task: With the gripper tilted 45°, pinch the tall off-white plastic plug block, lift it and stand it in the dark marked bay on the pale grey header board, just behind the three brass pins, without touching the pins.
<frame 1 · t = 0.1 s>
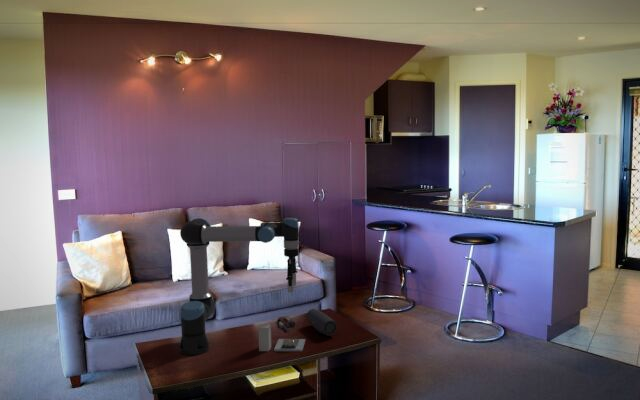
hand: (292, 288, 271), 28 cm above the table, tool pointing down, fingers open, 13 cm apart
plug block: (265, 348, 264), on the table
header board: (290, 345, 267), on the table
bluetooth speaker: (321, 331, 288), on the table
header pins: (288, 344, 262), on the header board, point 3 cm above the table
walkie-talkie: (287, 326, 298), on the table
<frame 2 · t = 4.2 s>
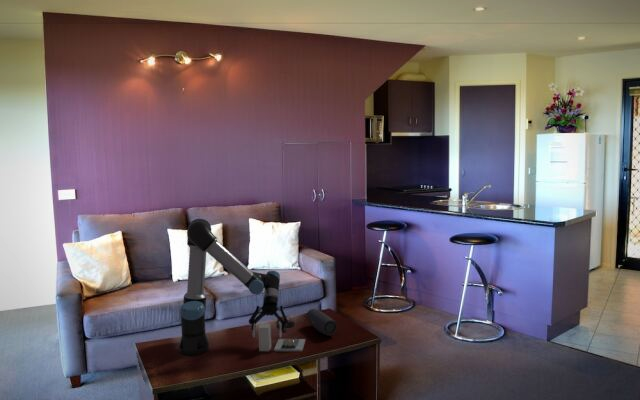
hand: (266, 336, 264), 6 cm above the table, tool tilted 45°, fingers open, 13 cm apart
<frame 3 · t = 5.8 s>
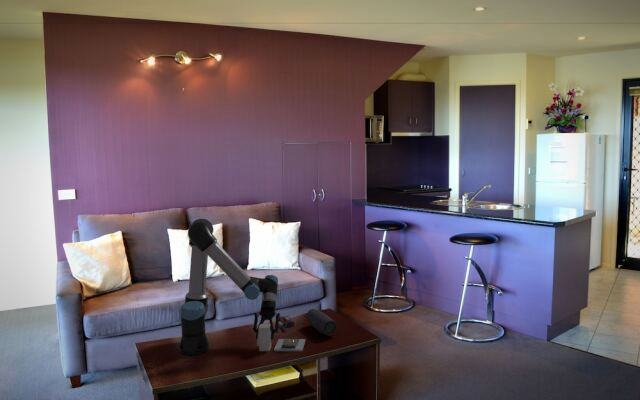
hand: (263, 345, 260), 3 cm above the table, tool tilted 45°, fingers closed on plug block, 5 cm apart
plug block: (265, 348, 264), on the table, touching gripper
everything else where it was.
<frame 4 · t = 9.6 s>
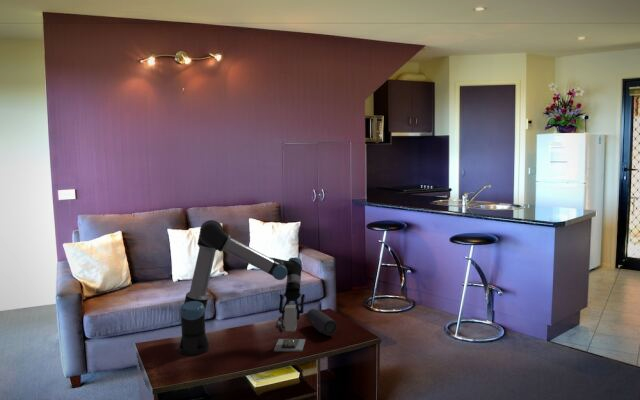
hand: (289, 325, 264), 11 cm above the table, tool tilted 45°, fingers closed on plug block, 5 cm apart
plug block: (291, 329, 268), point 8 cm above the table, touching gripper
when the fingers open (6 cm above the table, at t = 10.9 s): plug block drops 1 cm, resting on header board.
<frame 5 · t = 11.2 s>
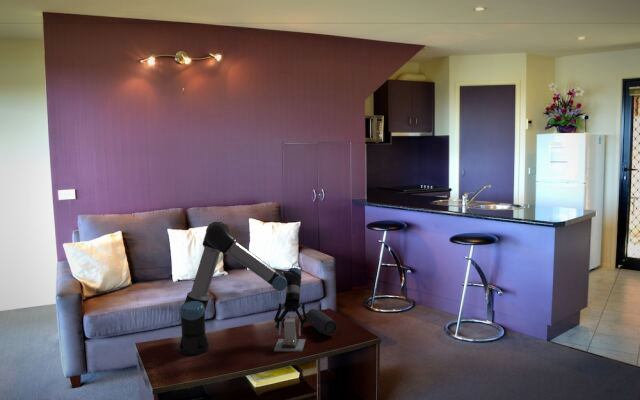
hand: (289, 334, 265), 6 cm above the table, tool tilted 45°, fingers open, 9 cm apart
plug block: (290, 342, 269), point 1 cm above the table, touching header board
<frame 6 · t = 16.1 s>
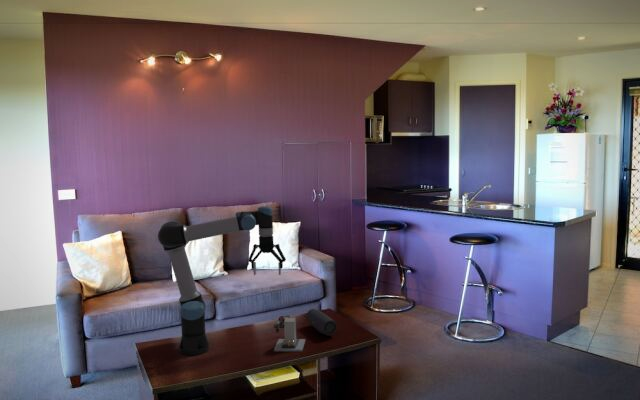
hand: (267, 274, 283), 33 cm above the table, tool pointing down, fingers open, 13 cm apart
at the end: plug block 0.0 cm from the target spot on the header board, point 1.1 cm above the header board's base; plug block tilted 0°; plug block touching header board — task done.
